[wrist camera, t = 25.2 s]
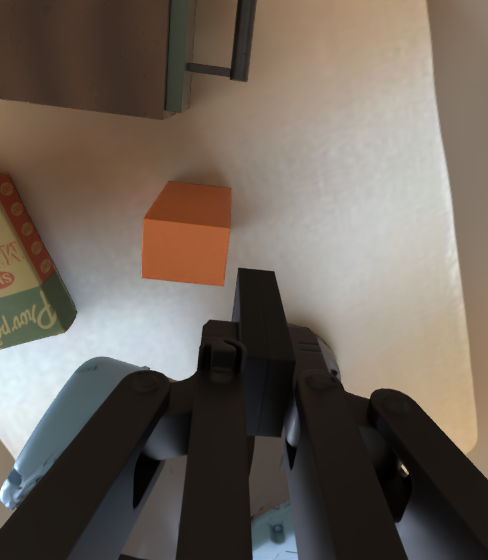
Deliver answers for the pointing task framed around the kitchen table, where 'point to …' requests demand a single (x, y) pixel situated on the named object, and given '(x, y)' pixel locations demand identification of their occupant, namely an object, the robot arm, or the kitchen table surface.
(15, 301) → the carton
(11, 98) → the cabinet
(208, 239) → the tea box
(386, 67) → the kitchen table surface
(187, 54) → the drawer
